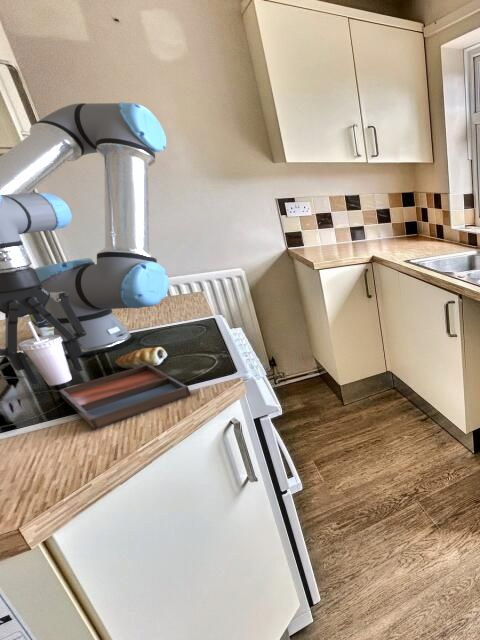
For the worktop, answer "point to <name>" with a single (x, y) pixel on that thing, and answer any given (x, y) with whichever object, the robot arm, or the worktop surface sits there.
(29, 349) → the smoothie
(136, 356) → the pastry
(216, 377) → the worktop surface
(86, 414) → the sorting tray
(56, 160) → the robot arm
